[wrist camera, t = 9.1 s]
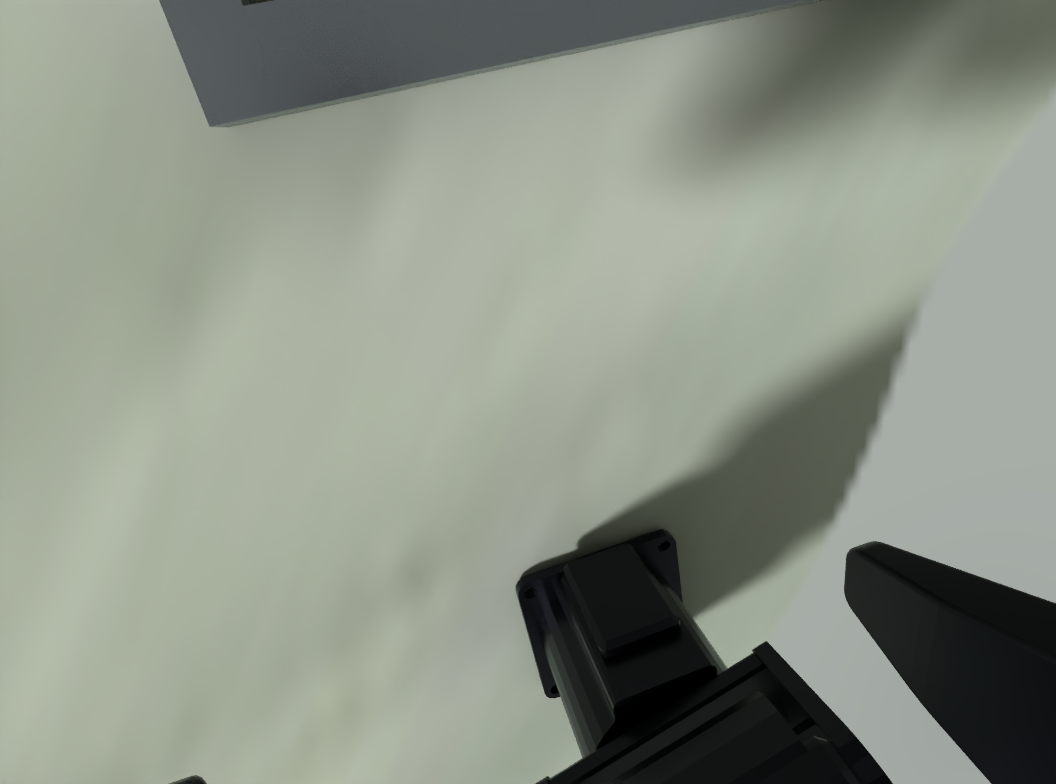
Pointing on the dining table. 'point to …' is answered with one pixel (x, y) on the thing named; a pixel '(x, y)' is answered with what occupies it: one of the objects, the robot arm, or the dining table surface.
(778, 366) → the dining table surface
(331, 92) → the grey slotted frame
